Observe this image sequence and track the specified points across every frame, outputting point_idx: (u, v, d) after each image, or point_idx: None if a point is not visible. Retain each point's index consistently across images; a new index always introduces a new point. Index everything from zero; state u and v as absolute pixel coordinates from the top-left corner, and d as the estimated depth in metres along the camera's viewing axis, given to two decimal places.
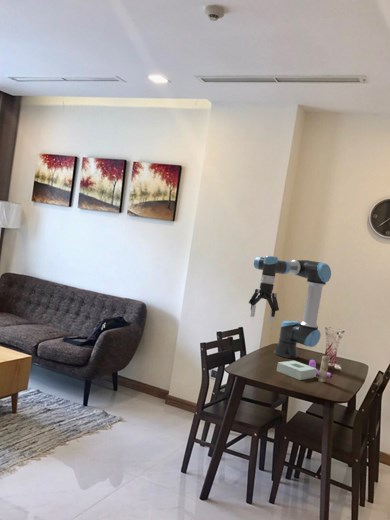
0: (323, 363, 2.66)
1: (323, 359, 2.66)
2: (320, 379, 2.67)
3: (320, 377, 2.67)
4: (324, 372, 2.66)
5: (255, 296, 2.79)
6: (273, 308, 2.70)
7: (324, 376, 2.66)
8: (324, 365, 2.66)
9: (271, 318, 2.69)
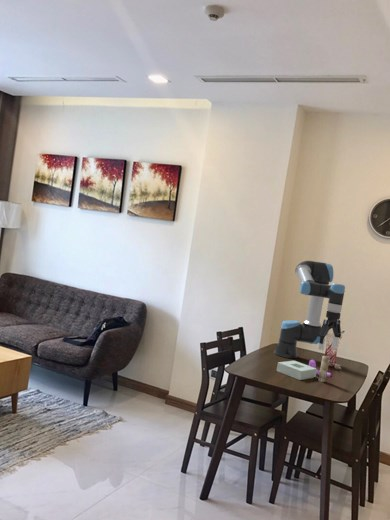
0: (323, 363, 2.66)
1: (323, 359, 2.66)
2: (320, 379, 2.67)
3: (320, 377, 2.67)
4: (324, 372, 2.66)
5: (337, 327, 2.71)
6: None
7: (324, 376, 2.66)
8: (324, 365, 2.66)
9: (320, 345, 2.62)
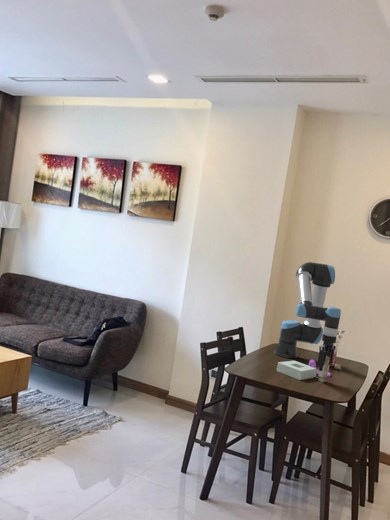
0: None
1: None
2: (320, 379, 2.67)
3: (320, 377, 2.67)
4: (324, 372, 2.66)
5: (330, 353, 2.71)
6: None
7: (324, 376, 2.66)
8: None
9: (320, 372, 2.66)
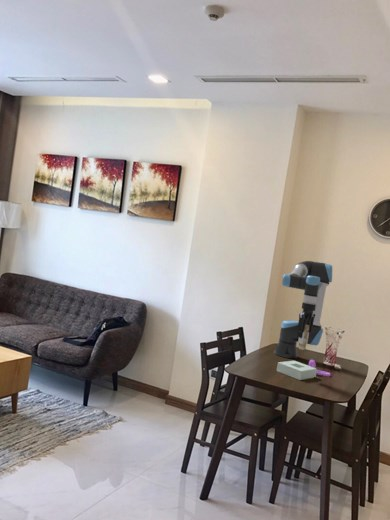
0: None
1: None
2: (300, 347, 2.73)
3: (300, 345, 2.73)
4: (304, 340, 2.72)
5: (310, 321, 2.76)
6: None
7: (304, 344, 2.72)
8: None
9: (300, 339, 2.72)
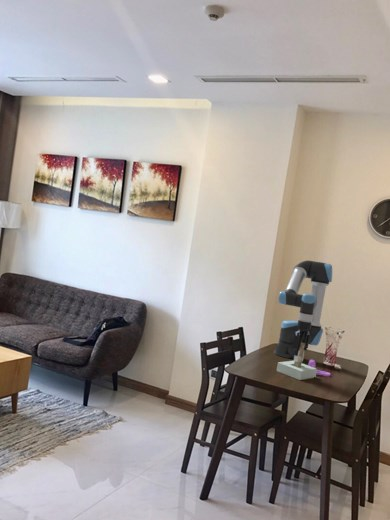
0: None
1: None
2: (295, 364, 2.73)
3: (295, 362, 2.73)
4: (299, 358, 2.72)
5: (306, 338, 2.77)
6: None
7: (299, 361, 2.73)
8: (299, 350, 2.72)
9: (295, 357, 2.73)
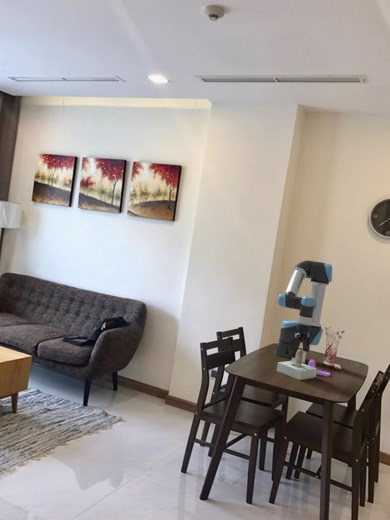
0: (297, 356, 2.73)
1: (297, 352, 2.73)
2: None
3: None
4: (298, 365, 2.73)
5: (307, 340, 2.78)
6: (296, 349, 2.71)
7: None
8: (298, 358, 2.73)
9: (293, 359, 2.71)
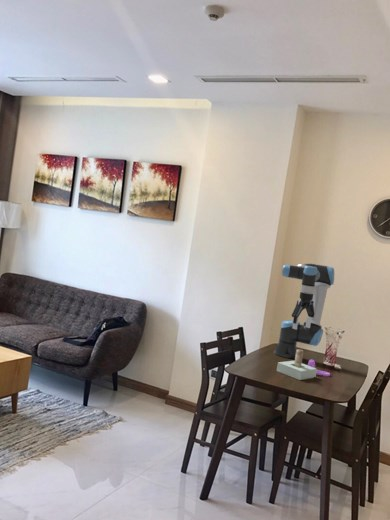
0: (297, 356, 2.73)
1: (297, 352, 2.73)
2: None
3: None
4: (298, 365, 2.73)
5: (310, 307, 2.85)
6: None
7: None
8: (298, 358, 2.73)
9: (294, 325, 2.76)
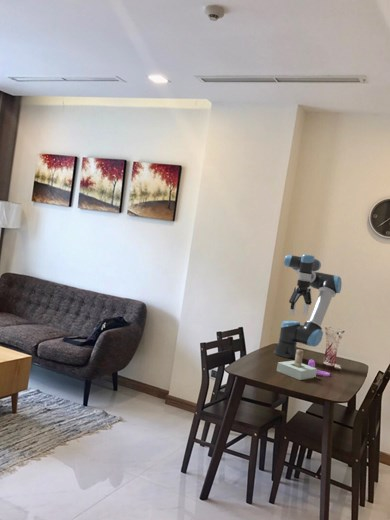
0: (297, 356, 2.73)
1: (297, 352, 2.73)
2: None
3: None
4: (298, 365, 2.73)
5: (307, 295, 2.95)
6: None
7: None
8: (298, 358, 2.73)
9: (291, 310, 2.86)
